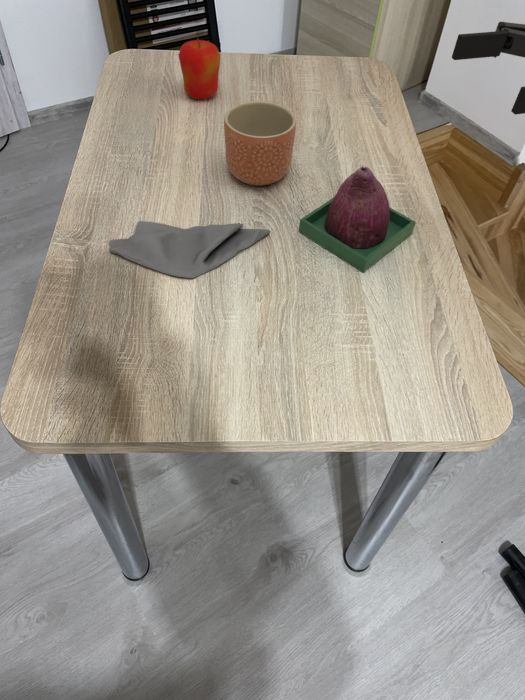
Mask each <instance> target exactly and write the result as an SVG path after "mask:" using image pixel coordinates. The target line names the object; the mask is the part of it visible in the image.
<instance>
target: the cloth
mask: <svg viewBox="0 0 525 700" xmlns="http://www.w3.org/2000/svg"><path fill="white" fill-rule="evenodd" d="M243 227H244V223H241V222H236V223H228V224H208V225H194V226H191V227H187V228H183V227H182V228H181V227H177V226H174V225H169V224H166V223H159V222H153V221H146V220H139V221H137V224H136V226H135V230H134V233H133V234H132V235H130V236H129V237H128V238H116V239H110V240H109V241H108V242H109V248H108V250H109V251H110V252H111V254H113V255H116V256H121V257H122V258H124V259H127V260H128V261H131V262H133V263H136V264H138V265H141V266H142V267H145V268H148V269H151V270H154V271H157V272H159V273H162V274H166V275H169V276H173V277H177V278H186V279H187V278H188V279H194V278H197V277H199V276H201V275H204V274H205V273H207V272H208V273H209V271H212V270H214V269H216V268H218V267H220V266H221V265H222V264H223V263H225V262H227V261H228V260H230V259H231V258H233V257H235V255H237V254H238V253H239V252H241V251H242V250H245V249H247V248H250V247H251V246H252V245H254V244H255V243H256V242H259V240H261V239H263V238H264V237H265V236H267V235H268V234H270V233H271V231H270V230H271V229H264V228H243Z"/></svg>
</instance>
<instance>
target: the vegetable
mask: <svg viewBox="0 0 525 700" xmlns="http://www.w3.org/2000/svg"><path fill="white" fill-rule="evenodd" d="M332 198H333V197H332ZM389 207H390V203H389V199H388V197H387V194H386V190H385V188H384V186H383V185H382V183H381V182H380V181H379V180H378V178H376V176H375V174H374V173H373V171H372V170H371V168H369V167H368V166H365V165H361V166H360V167H359V168H358V169H357V170H356V171H355V172H353V173H351V174H350V175H348V176H347V178H345V180H344V181H343V182H342V183H341V185H340V186H339V188H338V190H337V192H336V194H335V195H334V198H333V200H332V202H331V204H330V207H329V209H328V214H327V216H326V219H325V229H326V231H327V233H328V234H329V235H331V236H332V237H334V238H336V239H337V240H339V241H341V242H342V243H344V244H345V245H347V246H349V247H350V248H358V249H367V248H370V247H373V246H375V245H377V244H379V243H381V242H383V241H384V239H385V237H386V234H387V230H388V225H389V217H390V209H389Z"/></svg>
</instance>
